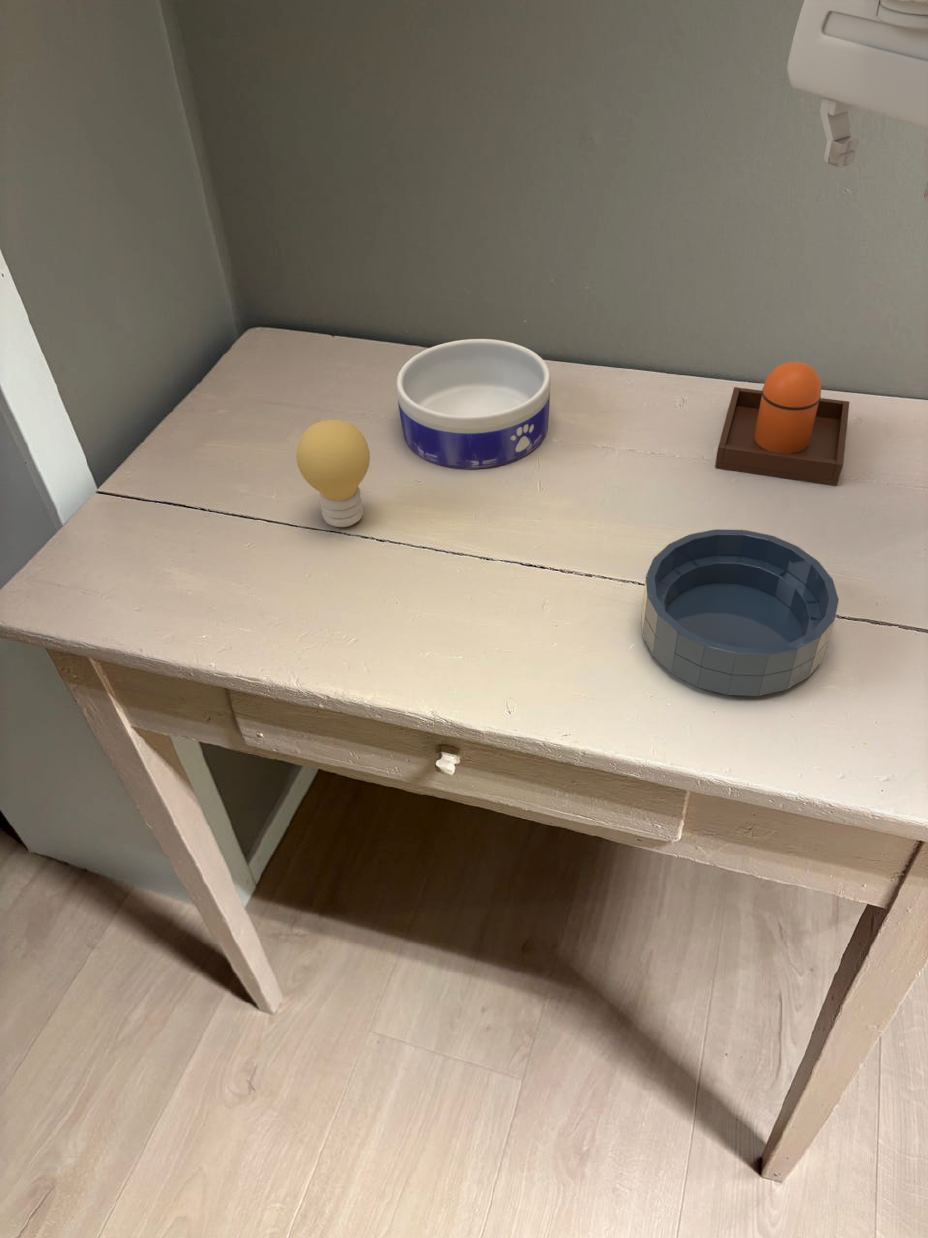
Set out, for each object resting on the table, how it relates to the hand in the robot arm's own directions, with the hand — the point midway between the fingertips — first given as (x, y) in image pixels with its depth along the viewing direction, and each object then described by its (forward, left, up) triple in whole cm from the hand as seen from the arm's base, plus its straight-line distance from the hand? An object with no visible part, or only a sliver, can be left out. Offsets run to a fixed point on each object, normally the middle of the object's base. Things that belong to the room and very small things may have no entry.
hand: (886, 181), depth 71 cm
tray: (+6, -2, -27) cm, 28 cm away
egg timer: (+6, -2, -26) cm, 27 cm away
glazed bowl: (-11, +20, -27) cm, 35 cm away
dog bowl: (+26, +21, -27) cm, 43 cm away
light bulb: (+20, +39, -27) cm, 52 cm away
